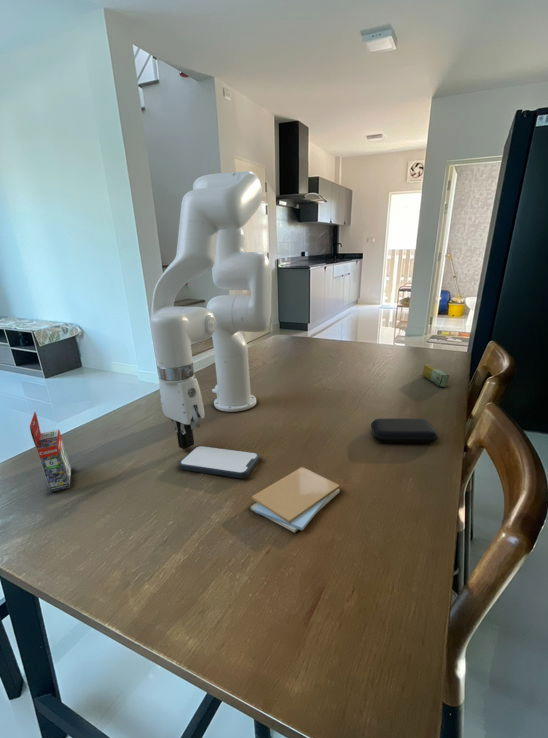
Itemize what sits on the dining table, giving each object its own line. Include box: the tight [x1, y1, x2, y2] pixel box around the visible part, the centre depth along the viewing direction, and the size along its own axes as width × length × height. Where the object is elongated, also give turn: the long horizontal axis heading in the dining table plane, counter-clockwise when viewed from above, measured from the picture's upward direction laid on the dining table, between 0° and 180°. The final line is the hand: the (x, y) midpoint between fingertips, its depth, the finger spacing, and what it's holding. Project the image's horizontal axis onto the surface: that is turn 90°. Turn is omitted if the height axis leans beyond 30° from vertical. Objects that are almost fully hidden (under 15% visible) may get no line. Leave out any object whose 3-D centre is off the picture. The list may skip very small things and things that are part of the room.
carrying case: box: [370, 417, 439, 444], centre depth 93 cm, size 11×3×15 cm
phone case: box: [178, 445, 261, 479], centre depth 83 cm, size 9×2×16 cm
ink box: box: [29, 411, 72, 493], centre depth 76 cm, size 4×8×15 cm, turn 26°
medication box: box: [421, 363, 450, 388], centre depth 127 cm, size 12×3×4 cm, turn 10°
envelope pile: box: [250, 466, 341, 534], centre depth 70 cm, size 12×15×2 cm
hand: (186, 446), depth 89 cm, fingers closed
